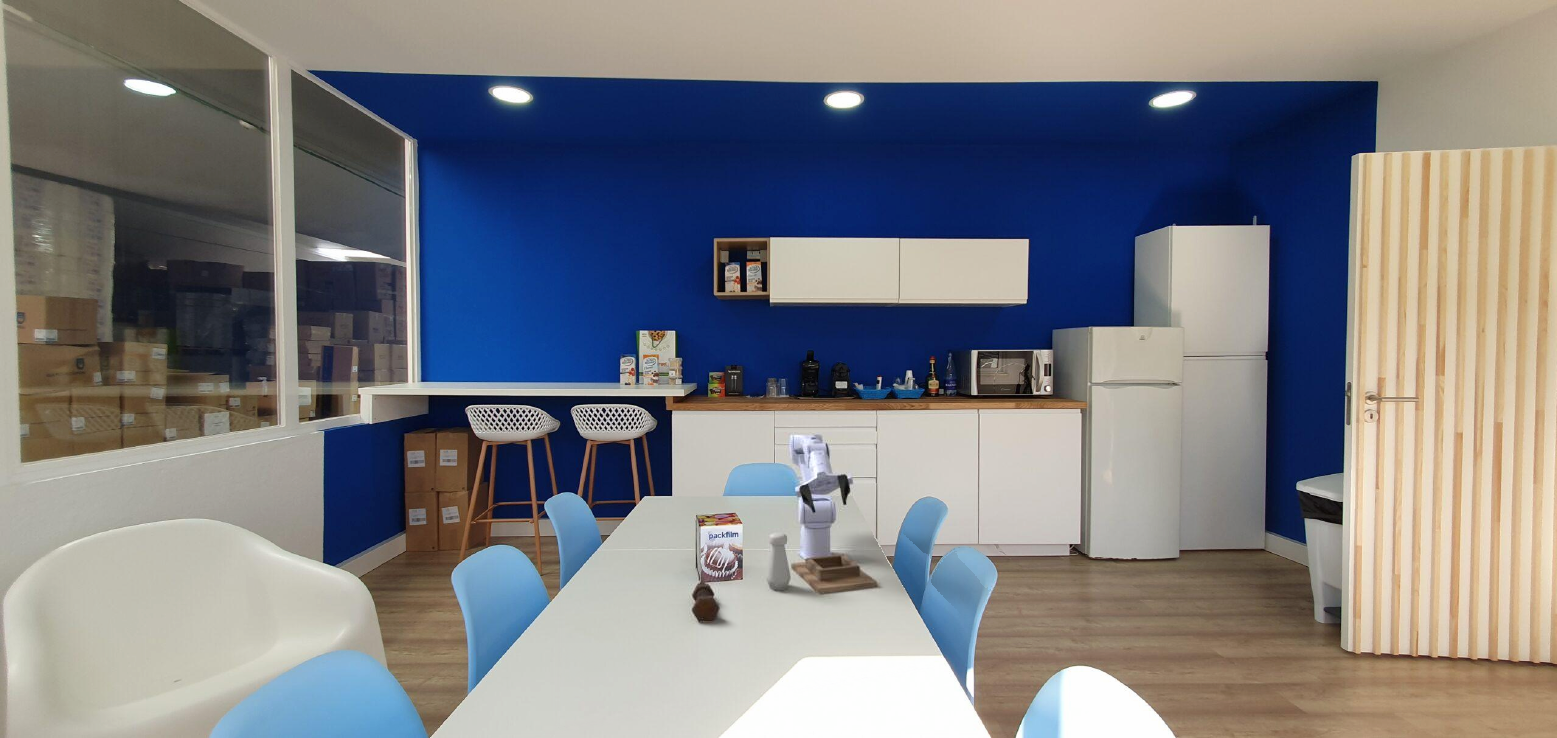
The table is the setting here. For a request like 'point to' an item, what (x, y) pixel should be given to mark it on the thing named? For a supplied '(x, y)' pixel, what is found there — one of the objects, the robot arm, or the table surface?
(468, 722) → the table surface
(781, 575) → the salt shaker
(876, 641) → the table surface
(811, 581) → the socket board
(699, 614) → the bolt
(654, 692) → the table surface
